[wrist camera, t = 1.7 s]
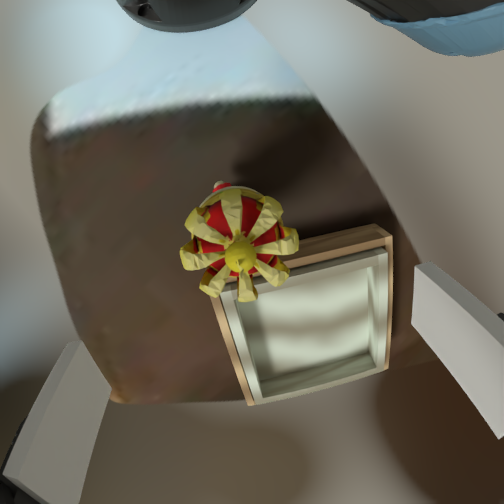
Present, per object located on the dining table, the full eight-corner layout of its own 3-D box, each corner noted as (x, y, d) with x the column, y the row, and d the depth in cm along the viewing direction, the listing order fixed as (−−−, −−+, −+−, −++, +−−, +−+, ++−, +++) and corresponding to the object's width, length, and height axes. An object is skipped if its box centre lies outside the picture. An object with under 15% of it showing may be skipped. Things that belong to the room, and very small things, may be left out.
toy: (183, 189, 28) (144, 246, 14) (252, 154, 28) (280, 179, 14) (217, 252, 31) (213, 350, 17) (283, 221, 30) (330, 300, 16)
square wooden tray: (206, 261, 31) (204, 284, 27) (374, 223, 31) (397, 239, 27) (246, 383, 38) (248, 411, 34) (376, 349, 38) (391, 373, 33)
